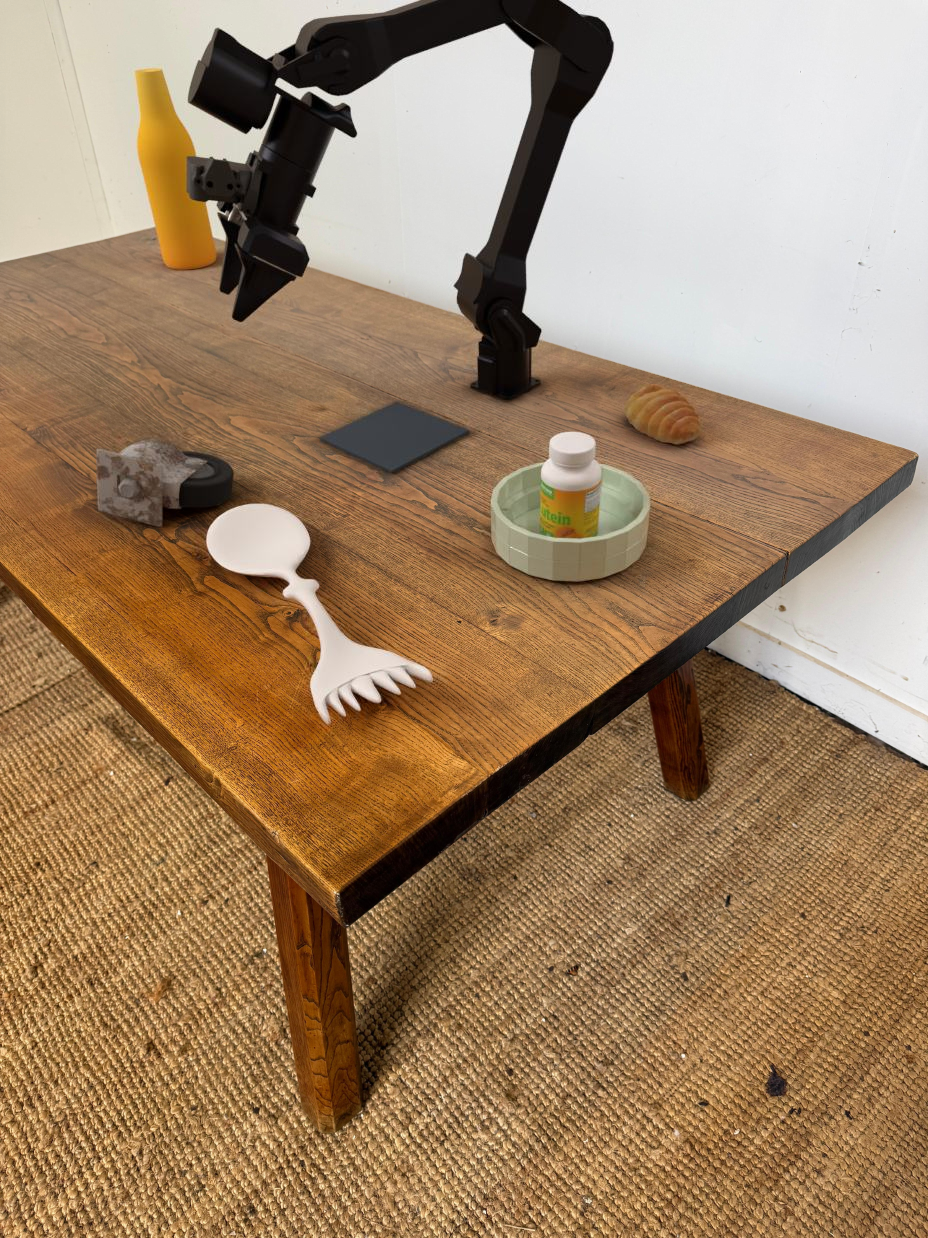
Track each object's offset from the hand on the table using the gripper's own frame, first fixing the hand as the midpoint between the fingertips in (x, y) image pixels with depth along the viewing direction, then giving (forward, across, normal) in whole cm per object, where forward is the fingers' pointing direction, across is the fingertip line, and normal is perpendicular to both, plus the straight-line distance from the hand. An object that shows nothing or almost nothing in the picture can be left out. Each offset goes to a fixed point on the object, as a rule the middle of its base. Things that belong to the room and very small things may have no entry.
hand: (229, 305), depth 92 cm
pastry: (-11, +17, +44) cm, 49 cm away
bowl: (0, +34, +28) cm, 44 cm away
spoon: (+14, +35, +7) cm, 38 cm away
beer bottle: (+12, -72, +9) cm, 73 cm away
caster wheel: (+18, +12, 0) cm, 22 cm away
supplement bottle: (0, +34, +28) cm, 44 cm away
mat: (+4, +7, +20) cm, 22 cm away
